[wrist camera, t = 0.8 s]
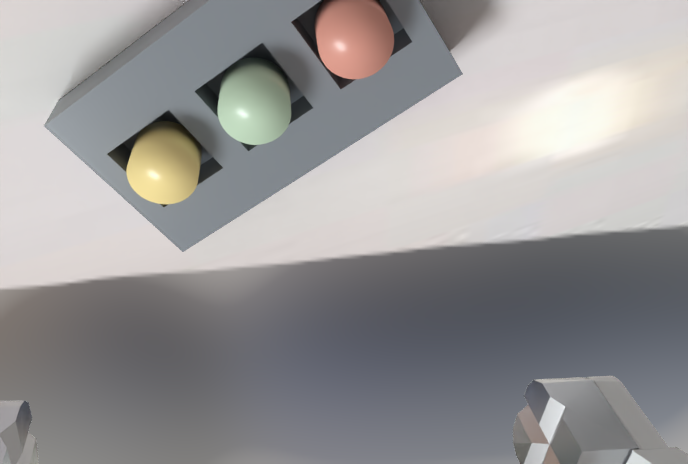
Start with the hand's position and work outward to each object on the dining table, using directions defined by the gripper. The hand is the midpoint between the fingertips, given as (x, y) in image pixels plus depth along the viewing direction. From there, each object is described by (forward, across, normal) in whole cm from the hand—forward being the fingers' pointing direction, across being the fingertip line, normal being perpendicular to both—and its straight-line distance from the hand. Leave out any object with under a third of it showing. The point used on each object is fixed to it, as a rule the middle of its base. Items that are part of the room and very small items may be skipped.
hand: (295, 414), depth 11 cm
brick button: (+31, -7, +1) cm, 31 cm away
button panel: (+34, -2, +6) cm, 34 cm away
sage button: (+31, -1, +6) cm, 32 cm away
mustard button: (+32, +4, +10) cm, 34 cm away
